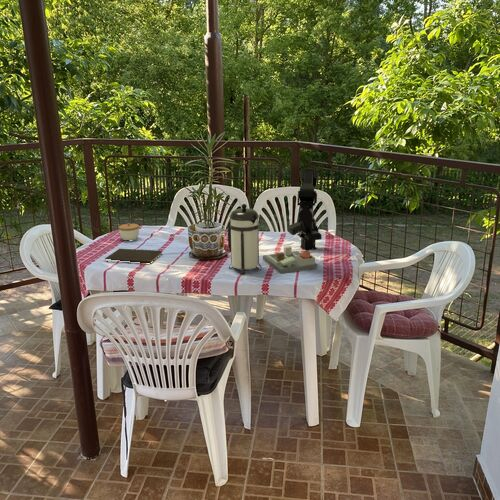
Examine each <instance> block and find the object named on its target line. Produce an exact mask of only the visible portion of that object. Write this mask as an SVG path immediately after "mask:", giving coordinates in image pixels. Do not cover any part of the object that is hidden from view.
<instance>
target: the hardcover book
mask: <svg viewBox="0 0 500 500" xmlns="http://www.w3.org/2000/svg"><path fill="white" fill-rule="evenodd" d="M162 253H163V250H155V249H153V250H152V249H149V250H148V249H132V248H131V249H130V248H118V249H117V250H115V251H114V252H112V253H111V254H109V255H108V256H106V257H104V260H105V259H111V260H120V261H130V262H140V263H151V262H152V261H153V260H155V259H156V258H157V257H158V256H159V257H161V256H162V255H161V254H162ZM160 255H161V256H160ZM159 257H158V258H159ZM158 258H157V259H158ZM157 259H156V260H157ZM156 260H155V261H156ZM152 263H153V262H152ZM152 263H151V264H152Z"/></svg>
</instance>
